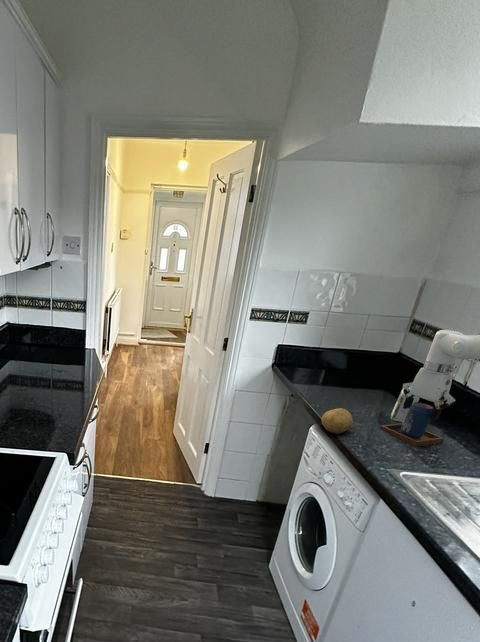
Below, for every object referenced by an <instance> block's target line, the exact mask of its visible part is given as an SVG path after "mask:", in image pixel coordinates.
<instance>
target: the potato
mask: <svg viewBox="0 0 480 642" xmlns="http://www.w3.org/2000/svg"><path fill="white" fill-rule="evenodd" d="M353 424H354V422H353V416H352V414H351V413H350V411H348V410H347V409H345V408H342V407H338V408H334V409H331V410H328V411H326V412H324V413H323V414H322V416H321V425H322V426H323V427H324V429H325V430H326V431H327V432H328V433H331V434H336V435H337V434H338V435H339V434H342V433H344V432H347V431H348V430H350V429H351V428H352V426H353Z"/></svg>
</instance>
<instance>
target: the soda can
mask: <svg viewBox="0 0 480 642" xmlns="http://www.w3.org/2000/svg"><path fill="white" fill-rule="evenodd" d="M433 409H434V406H433V405H431V404H428V403H425V402H421V401H418V402H415V403H414V404H413V405H412V406H410V408H409V411H408V413H407V415H406V418H405V420H404V422H402V423H403V424H402V427H401V428H400V434H403V435H405V436H407V437H409V438H413V439H419V438H421V437H422V436H423V435H424V433H425V430H426V431H427V428H428V427H429V424H430V422H431V421H432V419H430V416H431V413H432V411H433Z"/></svg>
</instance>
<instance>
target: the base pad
mask: <svg viewBox="0 0 480 642" xmlns="http://www.w3.org/2000/svg"><path fill="white" fill-rule="evenodd" d="M402 424H403V422H399V423H392V424H383V425H380V428H379V429H380V430H382V431H384V432H385V433H387V434H389V435H391V436H393V437H395V438H396V439H399V440H401V441H403V442H405V443H407V444H409V445H411V446H413V447H426V446H425V445H427V446H433V445H432V444H434V445H435V444H442V443H443V441H444V437H442V436H440V435H437V434H435V433H433V432H430V431H428V430H427V429H426V430H425V433H424V435H423V436H422V437H421V438H419V439H413V438H409V437H407V436H405V435H403V434H402V433H401V432H398V431H396V430H393V429H401V427H402Z"/></svg>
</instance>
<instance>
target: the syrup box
mask: <svg viewBox="0 0 480 642" xmlns="http://www.w3.org/2000/svg"><path fill="white" fill-rule="evenodd" d="M410 389H411V386H410V387H409V390H410ZM403 390H404V389H403V388H402V389H401V391H400V393H399V396H398V398H397V400H396V403H394V404H395V405H394V407H393V409H392V411H391V414H390V420H391V421H395V422H399V423H403V422H404V420H405V418H406V415H407V413H408V411H409V408H408V409H404V408H403V406H404V402H405V399H406V398H405V394H404V392H403ZM413 398H414V401H413V403H412V405H413V404H414V403H415V402H420V399H421V398H420V397H417V396H414V397H413Z"/></svg>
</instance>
